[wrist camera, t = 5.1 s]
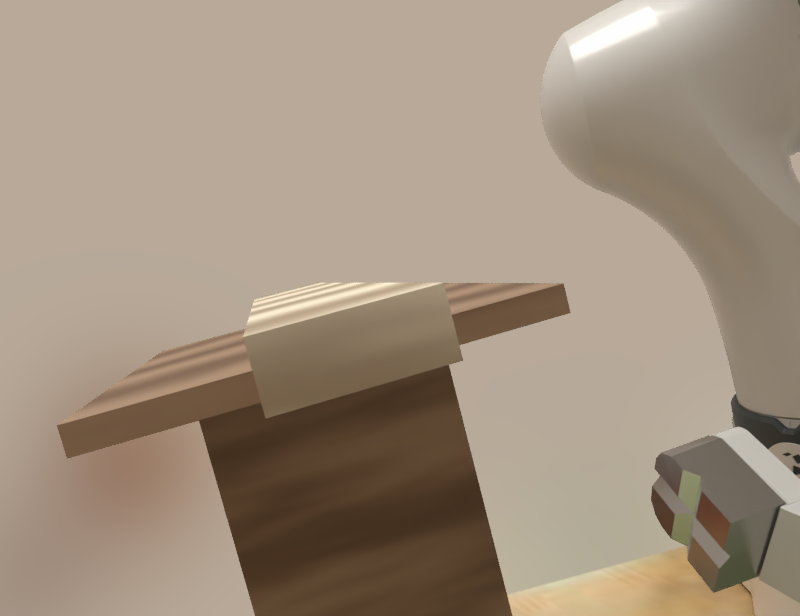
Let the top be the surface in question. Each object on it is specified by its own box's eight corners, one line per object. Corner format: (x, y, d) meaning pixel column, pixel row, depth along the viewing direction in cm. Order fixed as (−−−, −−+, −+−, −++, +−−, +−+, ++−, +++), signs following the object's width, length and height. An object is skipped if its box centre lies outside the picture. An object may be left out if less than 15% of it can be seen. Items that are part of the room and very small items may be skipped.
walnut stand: (728, 981, 25) (563, 283, 23) (294, 1201, 22) (57, 425, 20) (511, 657, 46) (415, 282, 44) (277, 747, 44) (162, 351, 41)
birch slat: (463, 360, 14) (443, 282, 14) (265, 418, 13) (242, 336, 13) (324, 307, 43) (318, 282, 43) (261, 324, 42) (254, 299, 42)
